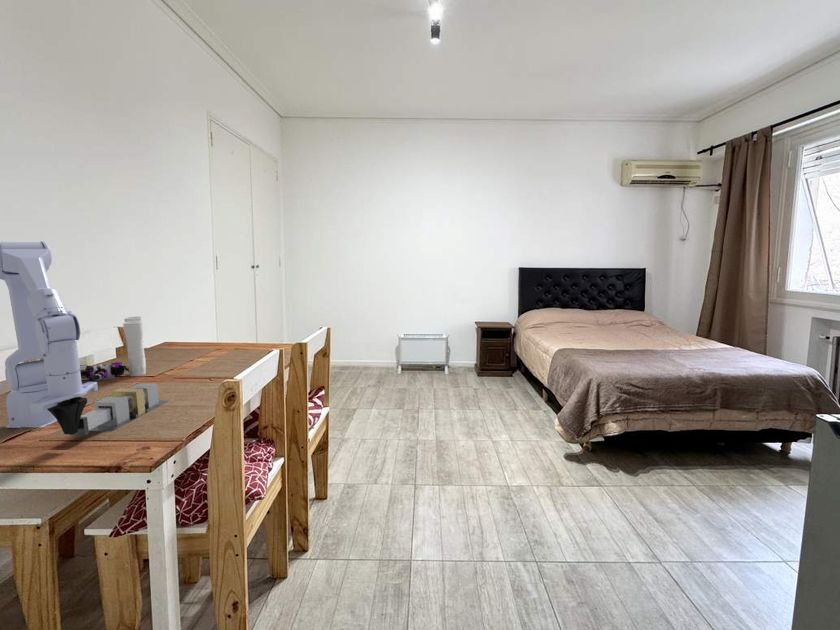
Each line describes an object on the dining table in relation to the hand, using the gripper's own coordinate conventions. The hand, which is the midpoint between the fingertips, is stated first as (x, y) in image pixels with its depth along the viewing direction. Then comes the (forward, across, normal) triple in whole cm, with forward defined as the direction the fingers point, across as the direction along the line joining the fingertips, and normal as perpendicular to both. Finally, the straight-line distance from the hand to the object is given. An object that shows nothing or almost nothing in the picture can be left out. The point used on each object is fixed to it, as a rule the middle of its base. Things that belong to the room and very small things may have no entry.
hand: (71, 433), depth 96 cm
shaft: (+1, +11, 0) cm, 11 cm away
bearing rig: (+3, +17, 0) cm, 18 cm away
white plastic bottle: (+3, +59, +29) cm, 66 cm away
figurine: (+3, +45, +38) cm, 59 cm away
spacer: (+2, +17, 0) cm, 17 cm away
